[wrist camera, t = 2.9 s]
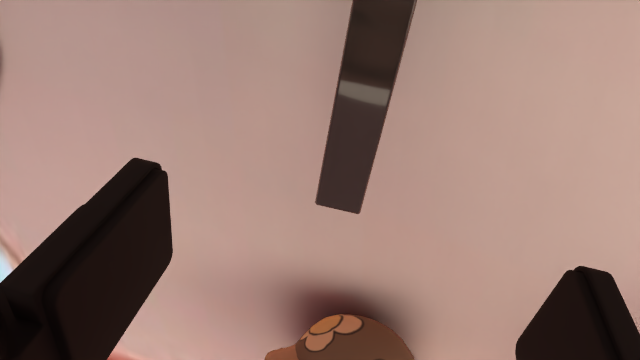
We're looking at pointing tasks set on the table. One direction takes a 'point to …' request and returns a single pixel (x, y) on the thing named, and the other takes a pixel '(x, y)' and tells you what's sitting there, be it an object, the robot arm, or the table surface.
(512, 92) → the table surface
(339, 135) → the saucepan
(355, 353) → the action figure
